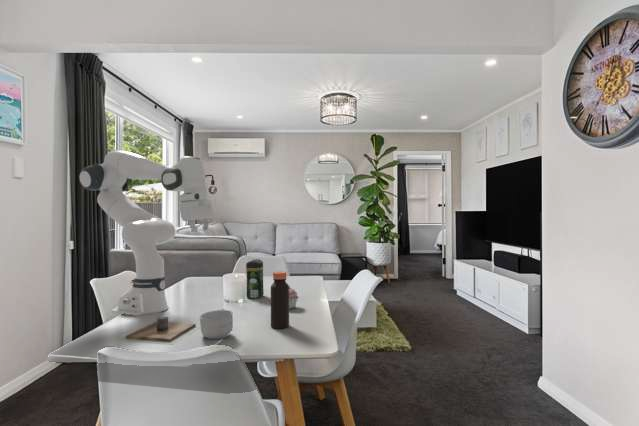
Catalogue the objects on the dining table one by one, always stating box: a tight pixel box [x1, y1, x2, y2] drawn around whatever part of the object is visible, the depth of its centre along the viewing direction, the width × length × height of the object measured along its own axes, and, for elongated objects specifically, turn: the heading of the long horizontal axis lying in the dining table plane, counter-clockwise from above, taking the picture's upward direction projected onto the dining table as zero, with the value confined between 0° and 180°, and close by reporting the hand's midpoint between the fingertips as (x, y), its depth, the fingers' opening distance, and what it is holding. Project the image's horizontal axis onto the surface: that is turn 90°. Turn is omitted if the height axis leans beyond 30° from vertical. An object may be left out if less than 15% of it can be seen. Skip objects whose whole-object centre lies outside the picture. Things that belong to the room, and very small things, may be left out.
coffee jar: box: [245, 259, 264, 300], centre depth 182 cm, size 10×8×19 cm
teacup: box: [199, 308, 234, 340], centre depth 125 cm, size 14×11×8 cm
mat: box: [116, 324, 201, 345], centre depth 127 cm, size 20×20×1 cm
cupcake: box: [289, 285, 299, 310], centre depth 161 cm, size 9×9×10 cm
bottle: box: [270, 270, 290, 330], centre depth 134 cm, size 7×7×20 cm
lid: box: [125, 316, 197, 342], centre depth 127 cm, size 16×16×5 cm
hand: (200, 231), depth 145 cm, fingers open, 8 cm apart
